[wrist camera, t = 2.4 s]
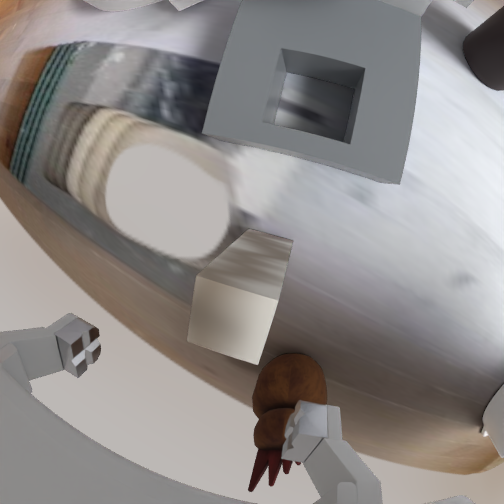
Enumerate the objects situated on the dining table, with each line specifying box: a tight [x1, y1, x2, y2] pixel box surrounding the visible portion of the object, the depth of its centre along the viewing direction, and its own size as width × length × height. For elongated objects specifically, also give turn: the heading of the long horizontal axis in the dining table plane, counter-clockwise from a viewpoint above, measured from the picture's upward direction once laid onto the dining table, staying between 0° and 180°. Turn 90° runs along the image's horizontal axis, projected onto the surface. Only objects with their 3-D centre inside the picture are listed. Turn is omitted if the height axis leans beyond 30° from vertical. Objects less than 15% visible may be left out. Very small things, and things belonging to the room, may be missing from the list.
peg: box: [187, 229, 293, 365], centre depth 19 cm, size 4×4×12 cm
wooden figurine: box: [248, 353, 327, 492], centre depth 20 cm, size 7×6×15 cm
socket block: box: [202, 0, 474, 185], centre depth 13 cm, size 14×16×14 cm
